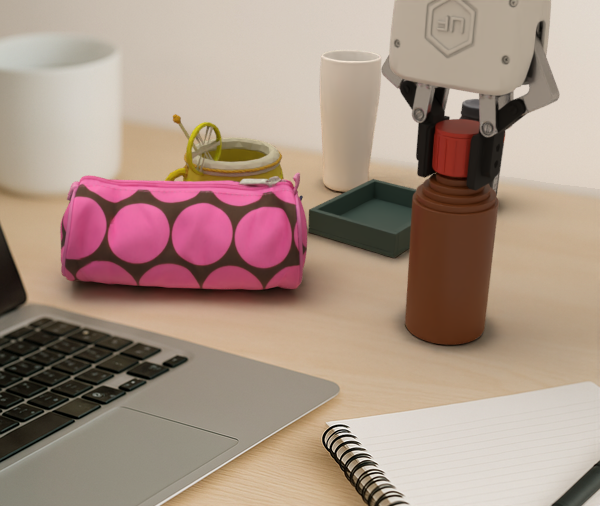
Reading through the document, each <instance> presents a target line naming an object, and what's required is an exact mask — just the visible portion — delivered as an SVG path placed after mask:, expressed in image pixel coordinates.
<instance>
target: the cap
mask: <svg viewBox="0 0 600 506" xmlns="http://www.w3.org/2000/svg"><path fill="white" fill-rule="evenodd" d="M479 126H480V124H479V122H478V121H473V120H466V119H460V118H452V119H449V120H444V121H441V122H438V123H437V124H436V125H435V134H434V146H433V161H432V167H433V170H434V171H436V172H437V173H439V174H443V175H446V176H452V177H467V172H468V163H469V153H470V143H471V138H472V136H473V135H476V134H478V133H479Z"/></svg>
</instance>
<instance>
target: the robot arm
mask: <svg viewBox="0 0 600 506" xmlns="http://www.w3.org/2000/svg"><path fill="white" fill-rule="evenodd" d="M551 9H552V0H394V3H393V10H392V17H391V27H390V38H389V50H388V51H389V52H388V56H387V57H386V59H385V60H384V63H383V64H382V65H381V75H383V77H385V78H386V79H387V81H389V82H390V83H391V84H392V85H393V86H394V87H395V88H396V89H399V92H400V95H401V96H402V97H403V98H404V100H405V102H406V103H407V104H408V106H409V107H410V109H411V116H412V120H413V121H414V122H416V123H417V125H418V126H417V137H416V151H415V158H416V160H417V176H418V177H421V178H424V179H425V178H428V177H430V176H431V175H433V174H434V173H436V171H434V170H433V167H432V161H433V146H434V134H435V125H436V124H437V123H438V122H441V121H444V120H451V119H450V118H451V116H448V115H445V114H446V112H445V111H446V107H447V104H448V98H449V94H450V89H451V90H456V91H463V92H467V93H474V94H478V99H479V124H480V126H479V133H478V134H476V135H473V136H472V138H471V143H470V153H469V163H468V172H467V182H466V186H467V187H468V189H471V190H475V191H476V190H478V189H480V188H481V187H483V186H485V185H487V184H489V183H491V182H492V181H493V180H494V179H495V177H496V176H497V175H498V173H499V171H500V172H501V168H500V167H502V161H501V159H502V160H503V155H502V151H503V152H504V147H503V143H504V144H505V140H504V135H505V136H506V131H507V130H509V129H511V128H512V127H513V125H515V124H516V123H517V122H518V121H520V120H521V119H522V118H523V117H525V116H526V115H528V114H529V113H532V112H535V111H537V110H539V109H542V108H545V107H547V106H550V105H551V104H554V103H556V102H557V101H558V100H559V99H560V91H559V88H558V85H557V82H556V80H555V77H554V74H553V71H552V69H551V66H550V64H549V61H548V58H547V53H548V46H549V37H550V36H549V35H550V27H551V26H550V24H551V11H552V10H551ZM527 85H528V87H529V88H528V91H527V93H526V94H524V95H521V96H519V97H516V98H514V95H515V94H514V92H515V90H516V89H517V88H521V87H522V86H527Z"/></svg>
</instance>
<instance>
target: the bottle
mask: <svg viewBox="0 0 600 506" xmlns="http://www.w3.org/2000/svg"><path fill="white" fill-rule="evenodd" d="M466 182H467V177H452V176H446V175H443V174H439V173H437V172H436V173H434V174H432V175H430V176H429V178H426V179H425V180H424V181H423V183H421V184H419V185H418V186H417V187H416V188H415V189H416V192H415V193H414V195H413V199H412V215H411V232H410V248H409V249H408V266H407V268H408V269H407V285H406V299H405V301H406V302H405V315H404V323H405V324H404V325H405V327H406V329H407V330H408V331H409V332H410V334H412V335H413V336H414V337H417V338H418V339H420V340H422V341H425V342H429V343H433V344H438V345H444V346H448V345H450V346H453V345H455V346H456V345H463V344H467V343H471V342H474V341H475V340H477V339H479V338H480V337H481V336H482V335H483V334H484V331H485V327H486V318H487V310H488V309H487V308H488V300H489V294H490V292H489V291H490V283H491V273H492V266H493V259H494V258H493V257H494V247H495V239H496V232H497V231H496V230H497V223H498V222H497V221H498V213H499V205H500V202H499V201H500V200H499V198H498V196H497V197H496V192H495V191H494V190H493V189H492V188H491V187H490V185H489V184H487V185H485V186H483V187H481V188H480V189H478V190H476V191H475V190H471V189H468V187H467V186H466Z"/></svg>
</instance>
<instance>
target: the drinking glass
mask: <svg viewBox="0 0 600 506" xmlns="http://www.w3.org/2000/svg"><path fill="white" fill-rule="evenodd" d="M319 66H320V68H319V112H320V114H319V115H320V127H321V128H320V129H321V131H320V132H321V147H322V149H321V150H322V183H323V184H324V186H325V187H326V188H327V189H330V190H332V191H335V192H340V193H341V192H342V193H345V192H347V191H349V190H351V189H353V188H355V187H357V186H359V185H361V184H364V183H366V182H368V181H370V180H369V179H370V178H369V177H370V166H371V159H372V150H373V143H374V136H375V131H376V130H375V129H376V123H377V116H378V110H379V103H380V96H381V84H382V56H381V55H380V54H378V53H376V52H372V51H367V50H360V49H337V50H336V49H335V50H329V51H326V52H325V51H324V52H323V53H322V54H321V56H320V65H319Z"/></svg>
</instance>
